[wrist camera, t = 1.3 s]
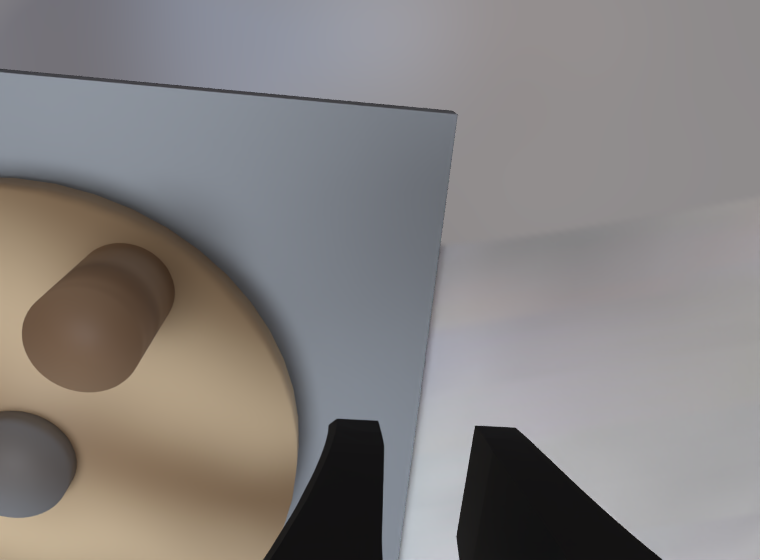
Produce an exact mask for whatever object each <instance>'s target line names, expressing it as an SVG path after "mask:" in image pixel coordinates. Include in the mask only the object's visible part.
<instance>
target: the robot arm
mask: <svg viewBox="0 0 760 560" xmlns="http://www.w3.org/2000/svg"><path fill="white" fill-rule="evenodd" d="M383 483H384V442H383V437H382V432H381V429H380V425H379V422H378V421H375V420H356V419H336V420H334V421H333V422H332V423H330V424H329V425H328V434H327V438H326V442H325V445H324V448H323V451H322V454H321V456H320V458H319V461H318V463H317V466H316V468H315V470H314V473H313V475H312V477H311V478H310V480H309V482H308V484H307V486H306V488H305V490H304V492H303V494H302V496H301V498H300V500H299V502H298V504H297V506H296V508H295V509H294V511H293V513H292V514H291V516H290V518H289V519H288V521H287V523H286V524H285V526H284V527H283V529H282V531H281V532H280V534H279V535H278V537H277V539H276V540H275V542H274V544H273V545H272V547H271V548H270V550H269V551H268V553H267V554H266V556H265V557H264V559H263V560H383V554H382V520H383ZM456 537H457V545H458V552H459V560H662V559H661V558H660V557H658V556H657V555H656V554H655V553H654V552H652V551H651V550H650V549H649V548H647V547H646V546H645V545H644V544H643V543H641V542H640V541H639V540H638V539H636V538H635V537H634V536H633V535H632V534H631V533H629V532H628V531H627V530H626V529H625V528H624V527H622V526H621V525H620V524H619V523H618V522H617V521H616V520H614V519H613V518H612V517H611V516H610V515H609V514H608V513H607V512H605V511H604V510H603V509H602V508H601V507H600V506H599V505H598V504H597V503H596V502H594V501H593V500H592V499H591V498H590V497H589V496H588V495H587V494H586V493H585V492H584V491H582V490H581V489H580V488H579V487H578V486H577V485H576V484H575V483H574V482H573V481H572V480H571V479H570V478H569V477H568V476H567V475H565V474H564V473H563V472H562V471H561V470H560V469H559V468H558V467H557V466H556V465H555V464H554V463H553V462H552V461H551V460H550V459H549V458H548V457H547V456H546V455H545V454H543V453H542V452H541V451H540V450H539V449H538V448H537V447H536V446H535V445H534V444H533V443H532V442H531V441H530V440H529V439H528V438H527V437H525V436H524V435H523V434H522V433H521V432H520V431H519V430H517V429H516V428H510V427H491V426H475V430H474V436H473V441H472V447H471V453H470V459H469V465H468V471H467V477H466V483H465V489H464V495H463V501H462V507H461V512H460V518H459V524H458V530H457V536H456Z"/></svg>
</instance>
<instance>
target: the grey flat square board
mask: <svg viewBox="0 0 760 560" xmlns="http://www.w3.org/2000/svg"><path fill="white" fill-rule="evenodd" d="M456 122H457V114H456V113H455V112H453V111H449V110H438V109H427V108H416V107H405V106H394V105H384V104H373V103H361V102H351V101H341V100H329V99H319V98H308V97H297V96H287V95H276V94H265V93H255V92H243V91H233V90H222V89H212V88H201V87H200V88H199V87H189V86H179V85H168V84H158V83H146V82H136V81H125V80H113V79H104V78H93V77H82V76H71V75H61V74H49V73H38V72H28V71H18V70H7V69H0V178H19V179H26V180H33V181H40V182H47V183H54V184H58V185H62V186H66V187H70V188H73V189H77V190H81V191H85V192H88V193H92V194H95V195H98V196H101V197H103V198H106V199H108V200H111V201H113V202H116V203H118V204H121V205H123V206H126V207H128V208H131V209H133V210H135V211H137V212H139V213H141V214H143V215H144V216H146V217H148V218H150V219H152V220H154V221H156V222H157V223H159V224H161V225H163V226H165V227H167V228H168V229H170V230H171V231H173V232H174V233H176V234H177V235H178V236H180V237H181V238H183V239H184V240H186V241H187V242H189V243H190V244H191V245H193V246H194V247H196V248H197V249H199V250H200V251H201V252H202V253H203V254H204V255H205V256H207V257H208V258H209V259H210V260H211V261H212V262H213V263H214V264H216V265H217V266H218V267H219V268H220V269H221V270H222V271H223V272H225V273H226V274H227V275H228V276H229V278H230V279H231V280H232V281H233V282H234V283H235V284H236V286H237V287H238V288H239V289H240V290H241V291H242V292H243V294H244V295H245V296H246V297H247V298H248V299H249V300H250V302H251V303H252V304H253V306H254V307H255V309H256V310H257V312H258V313H259V315H260V316H261V318H262V319H263V321H264V322H265V324H266V325H267V327H268V328H269V330H270V332H271V334H272V336H273V338H274V340H275V342H276V344H277V346H278V348H279V350H280V352H281V354H282V356H283V358H284V361H285V364H286V367H287V370H288V373H289V376H290V380H291V383H292V386H293V389H294V395H295V401H296V407H297V413H298V431H299V448H298V458H297V468H296V476H295V483H294V490H293V497H292V501H291V505H290V508H289V511H288V514H287V518H286V521H285V524H286V523H287V521H288V519H289V518H290V516H291V514H292V513H293V511H294V509H295V508H296V506H297V504H298V502H299V500H300V498H301V496H302V494H303V492H304V490H305V488H306V486H307V484H308V482H309V480H310V478H311V477H312V475H313V473H314V470H315V468H316V466H317V463H318V461H319V458H320V456H321V454H322V451H323V448H324V445H325V442H326V438H327V434H328V425H329V424H330V423H332V422H333V421H334V420H336V419H356V420H375V421H378V422H379V425H380V429H381V432H382V437H383V442H384V483H383V520H382V554H383V560H398V558H399V551H400V543H401V536H402V528H403V521H404V513H405V506H406V498H407V491H408V483H409V476H410V468H411V461H412V453H413V446H414V438H415V430H416V423H417V415H418V408H419V400H420V393H421V385H422V378H423V370H424V363H425V355H426V348H427V340H428V333H429V325H430V318H431V310H432V303H433V295H434V288H435V280H436V273H437V265H438V258H439V250H440V243H441V235H442V228H443V220H444V212H445V205H446V197H447V190H448V182H449V175H450V167H451V160H452V152H453V145H454V138H455V130H456ZM285 524H284V526H285Z"/></svg>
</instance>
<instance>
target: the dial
mask: <svg viewBox="0 0 760 560" xmlns="http://www.w3.org/2000/svg"><path fill="white" fill-rule="evenodd" d="M298 448H299V431H298V413H297V407H296V401H295V395H294V389H293V386H292V383H291V380H290V376H289V373H288V370H287V367H286V364H285V361H284V358H283V356H282V354H281V352H280V350H279V348H278V346H277V344H276V342H275V340H274V338H273V336H272V334H271V332H270V330H269V328H268V327H267V325H266V324H265V322H264V321H263V319H262V318H261V316H260V315H259V313H258V312H257V310H256V309H255V307H254V306H253V304H252V303H251V302H250V300H249V299H248V298H247V297H246V296H245V295H244V294H243V292H242V291H241V290H240V289H239V288H238V287H237V286H236V284H235V283H234V282H233V281H232V280H231V279H230V278H229V276H228V275H227V274H226V273H225V272H223V271H222V270H221V269H220V268H219V267H218V266H217V265H216V264H214V263H213V262H212V261H211V260H210V259H209V258H208V257H207V256H205V255H204V254H203V253H202V252H201V251H200V250H199V249H197V248H196V247H194V246H193V245H191V244H190V243H189V242H187V241H186V240H184V239H183V238H181V237H180V236H178V235H177V234H176V233H174V232H173V231H171V230H170V229H168V228H167V227H165V226H163V225H161V224H159V223H157V222H156V221H154V220H152V219H150V218H148V217H146V216H144V215H143V214H141V213H139V212H137V211H135V210H133V209H131V208H128V207H126V206H123V205H121V204H118V203H116V202H113V201H111V200H108V199H106V198H103V197H101V196H98V195H95V194H92V193H88V192H85V191H81V190H77V189H73V188H70V187H66V186H62V185H58V184H54V183H47V182H40V181H33V180H26V179H19V178H0V560H263V559H264V557H265V556H266V554H267V553H268V551H269V550H270V548H271V547H272V545H273V544H274V542H275V540H276V539H277V537H278V535H279V534H280V532H281V531H282V529H283V527H284V524H285V521H286V518H287V514H288V511H289V508H290V505H291V501H292V497H293V490H294V483H295V476H296V468H297V458H298Z"/></svg>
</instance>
